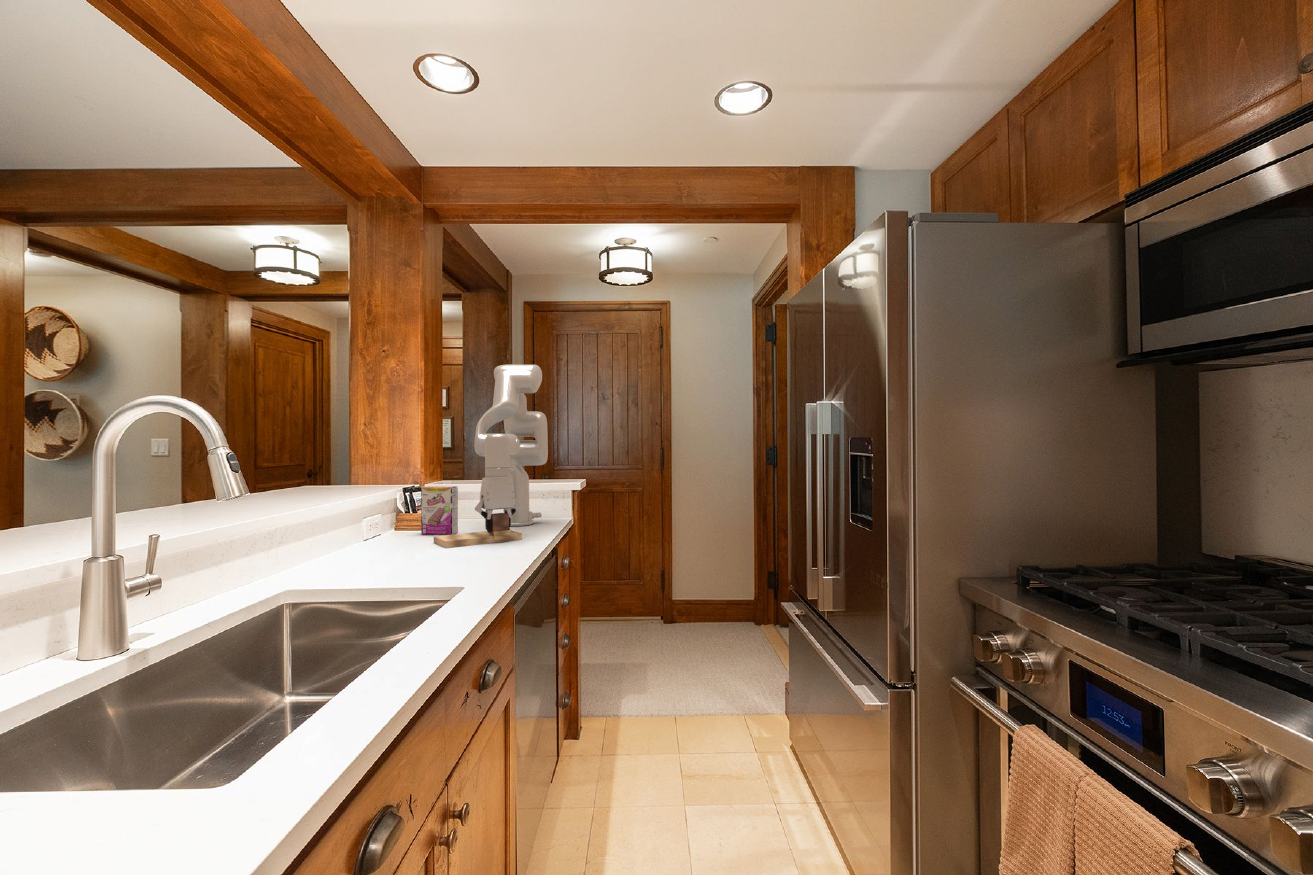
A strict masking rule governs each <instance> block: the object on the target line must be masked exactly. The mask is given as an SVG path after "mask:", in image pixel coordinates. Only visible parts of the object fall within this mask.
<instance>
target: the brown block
mask: <svg viewBox="0 0 1313 875" xmlns="http://www.w3.org/2000/svg"><path fill="white" fill-rule="evenodd" d="M491 519H492V532H488V533H489V534H492V535H494V540H502V539H510V530H511V529H510V530H509V514H506V513H504V512H495V513H492V515H491Z"/></svg>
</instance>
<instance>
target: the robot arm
mask: <svg viewBox="0 0 1313 875" xmlns="http://www.w3.org/2000/svg"><path fill="white" fill-rule="evenodd" d="M493 377H494V380H495V381H494V390H493V399H492V406H491V407H490V408H489V409H487V411H486V412H484V414H483V415H482V416H481V417H480V419H479V420H478V422H477V424H476V427H475V434H474V444H473V445H474V451H475V453H476V455H478V456H479V457H484V459H485V460H484V465H485V466H484V468H485V470H484V472H485V475H484V476H485V477H482V480H481V485H480V491H479V492H480V494H479V502H478V503H477V504H476V506H475V507H474V511H475V512H477V513H478V514H480V515H481V516H482V517H483V519H484V520H485V521H484V522H485V524H484V526H485V531H487V532H492V519H491V515H492V514H493V511H494V510H503V512H502V513H506V514H509V530H511V529H510V528H511V527H523V526H524V527H525V526H530V525H533V524H534V519H535V518H536V519H537V518H542V512H533V511H530V477H529V475H528V473H527V471H526V470H525V469H524V468H523V467H524V466H543V465H546V463H547V461H548V455H549V449H548V448H549V445H548V444H549V443H548V442H549V441H548V438H549V437H548V419H547V416H546V414H545V413H543V412H542V411H532V410H531V411H529V410H528V408H527V406H528V405H527V404H528V403H527V402H528V401H527V396H526V395H525V394H535V393H536V392H538V391H539V388H540V386H541V384H542V381H543V371H542V369H541V367H540V366H539V365H537V364H515V363H514V364H502V365H501V364H500V365H498V366H495V368H494V369H493ZM502 421H503V427H504V433H501V432H500V433H497V432H496V433H487V432H488V430H489V429H490V428H491V427H492V426H494V425H495V424H498V423H500V422H502ZM519 437H520V438H521V437H525V438H526V437H532V438H534V439H535V440H533V439H530V440H528V439H527V440H525V439H524V440H523V439H522V440H520V438H519ZM484 510H485V511H484Z"/></svg>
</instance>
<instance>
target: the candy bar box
mask: <svg viewBox="0 0 1313 875" xmlns="http://www.w3.org/2000/svg"><path fill="white" fill-rule="evenodd" d="M420 488H421V489H420V491H421V492H420V500H421V501H420V504H421V505H420V511H421V512H420V514H421V520H420V522H421V523H420V524H421V528H420V531H421V532H420V533H421V535H422V536H423V535H425V536H428V535H430V536H443V535H453V534H459V517H458V516H459V515H458V514H459V513H458V512H459V510H458V509H459V508H458V507H459V506H458V505H459V504H458V503H459V502H458V501H459V500H458V499H459V498H458V495H459V492H458V491H459V489H458V488H459V487H458V486H457V485H423V486H421V487H420Z"/></svg>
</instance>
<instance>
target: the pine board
mask: <svg viewBox="0 0 1313 875" xmlns="http://www.w3.org/2000/svg"><path fill="white" fill-rule="evenodd" d="M522 534H523V533H522V532H520V531H519V532H518V531H515V530H512V529H510V539H502V540H494V535H492V534H489V533H488V532H487V530H485V531H484V530H483V531H475V532H466V533H465V532H463V533H456V534H453V535H433V543H434V544H435V545H438V546H440V547H442V548H445V549H450V548H458V547H460V548H461V547H468V546H477V545H485V544H494V543H503V542H513V541H520V540H522V539H523V537H522Z"/></svg>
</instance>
